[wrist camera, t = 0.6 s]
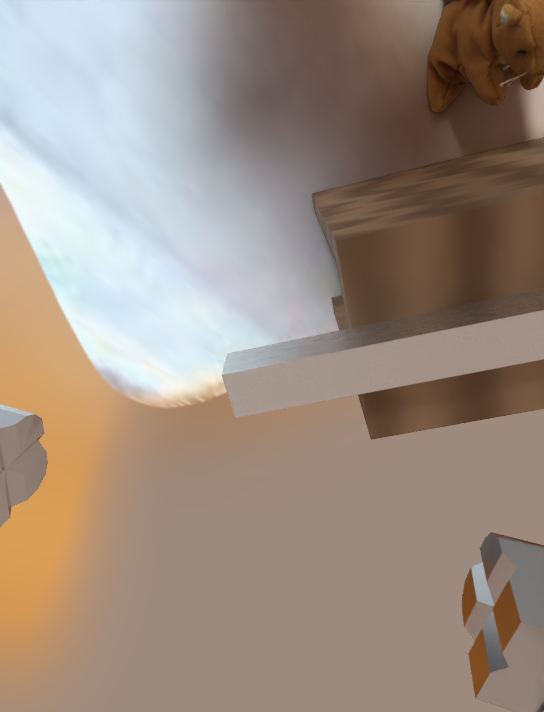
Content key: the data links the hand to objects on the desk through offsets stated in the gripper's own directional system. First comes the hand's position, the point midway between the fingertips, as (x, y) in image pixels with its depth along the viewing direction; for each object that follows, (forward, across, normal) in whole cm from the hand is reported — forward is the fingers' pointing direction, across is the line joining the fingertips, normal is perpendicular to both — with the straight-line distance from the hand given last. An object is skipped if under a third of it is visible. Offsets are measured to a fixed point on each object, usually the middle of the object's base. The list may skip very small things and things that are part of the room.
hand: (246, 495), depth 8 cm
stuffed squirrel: (+50, -6, -16) cm, 53 cm away
